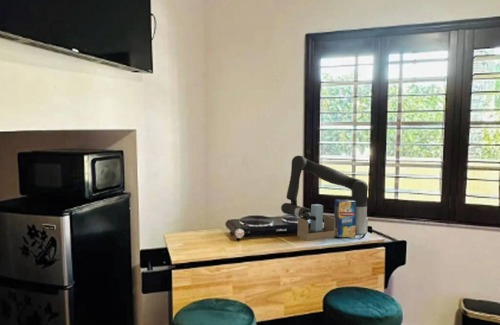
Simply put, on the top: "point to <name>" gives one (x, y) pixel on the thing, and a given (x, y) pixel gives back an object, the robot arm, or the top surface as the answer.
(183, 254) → the top surface
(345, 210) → the blue food box
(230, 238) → the top surface
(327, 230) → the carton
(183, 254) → the top surface
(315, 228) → the slate box
